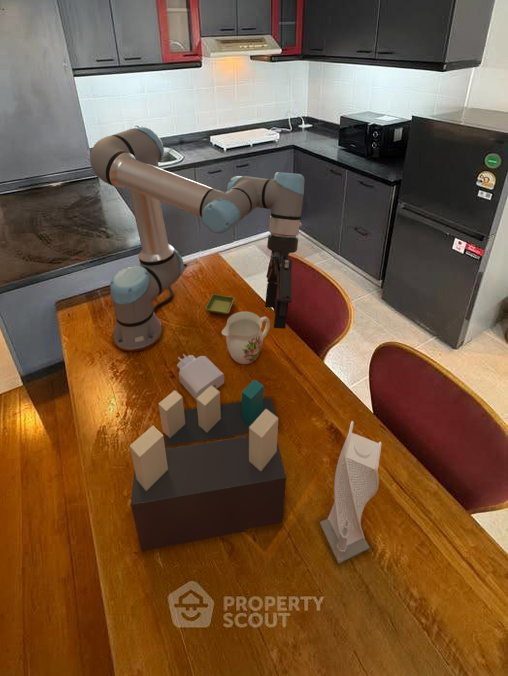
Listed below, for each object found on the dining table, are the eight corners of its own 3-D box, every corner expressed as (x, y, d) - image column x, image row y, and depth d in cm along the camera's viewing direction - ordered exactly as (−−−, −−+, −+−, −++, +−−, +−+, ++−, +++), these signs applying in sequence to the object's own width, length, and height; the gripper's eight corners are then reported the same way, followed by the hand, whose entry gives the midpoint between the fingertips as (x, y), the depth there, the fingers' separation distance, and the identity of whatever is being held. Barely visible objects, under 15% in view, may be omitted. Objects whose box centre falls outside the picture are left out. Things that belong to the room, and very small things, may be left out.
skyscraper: (316, 515, 79) (329, 427, 66) (349, 500, 81) (367, 413, 69) (338, 564, 72) (357, 475, 59) (374, 546, 74) (399, 457, 62)
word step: (145, 499, 81) (128, 419, 70) (272, 477, 85) (276, 398, 74) (141, 551, 73) (122, 470, 62) (282, 524, 77) (288, 443, 66)
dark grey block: (163, 414, 99) (159, 385, 94) (271, 399, 103) (272, 371, 99) (162, 448, 91) (157, 419, 86) (279, 430, 95) (280, 401, 91)
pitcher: (280, 351, 119) (282, 316, 113) (234, 381, 108) (234, 345, 102) (257, 331, 126) (258, 298, 120) (212, 358, 116) (211, 323, 110)
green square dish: (235, 301, 140) (235, 297, 139) (228, 317, 132) (228, 313, 131) (212, 298, 142) (212, 293, 141) (205, 313, 134) (204, 309, 133)
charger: (194, 354, 117) (224, 384, 107) (168, 370, 112) (197, 404, 102) (193, 342, 115) (224, 372, 105) (166, 358, 110) (196, 391, 100)
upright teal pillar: (241, 419, 97) (241, 392, 93) (254, 405, 101) (254, 379, 96) (250, 426, 95) (250, 399, 91) (263, 412, 99) (263, 385, 94)
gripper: (311, 246, 83) (300, 339, 85) (287, 228, 107) (279, 300, 109) (278, 243, 82) (267, 337, 84) (261, 226, 107) (253, 299, 109)
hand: (274, 316), depth 97 cm, fingers open, 13 cm apart
